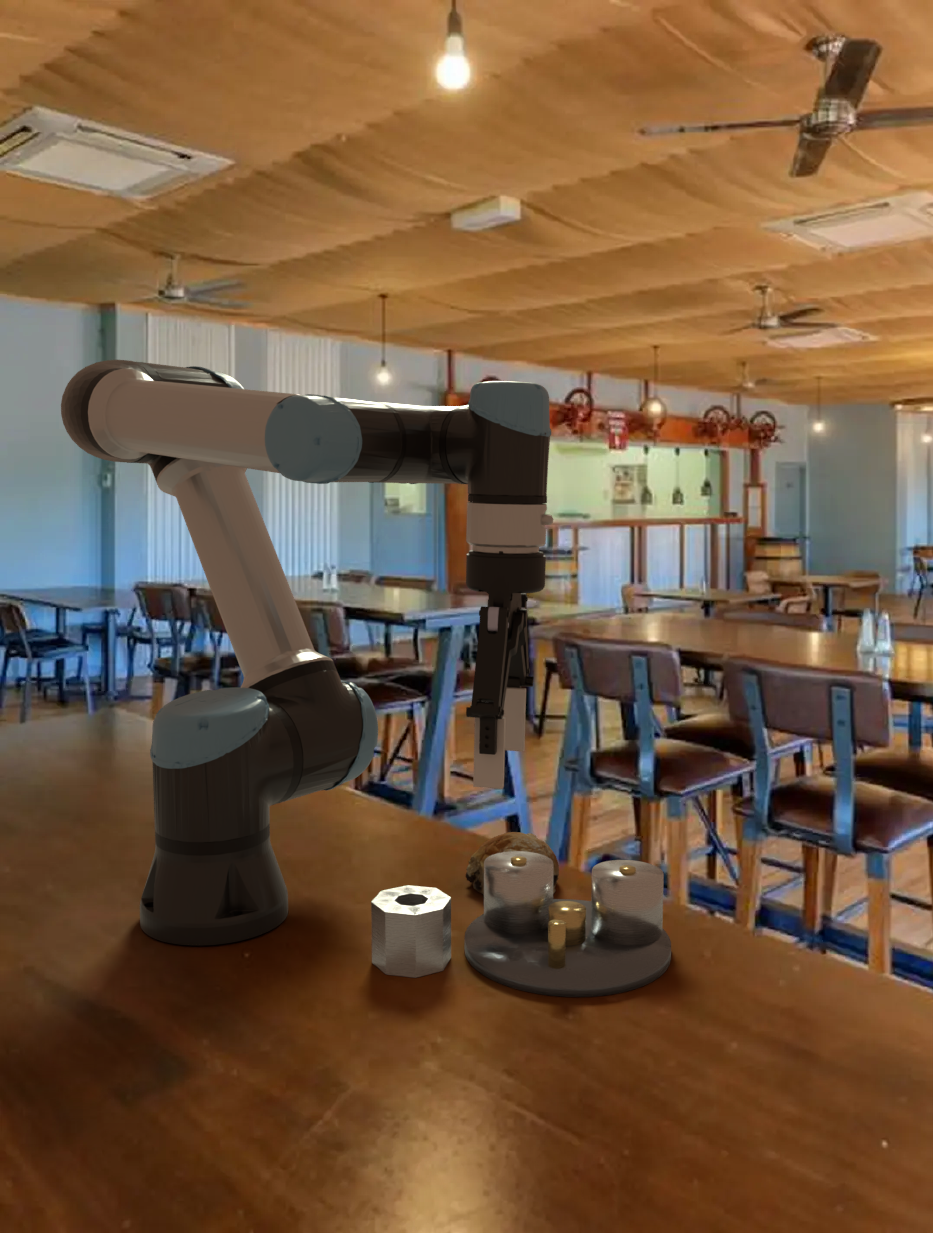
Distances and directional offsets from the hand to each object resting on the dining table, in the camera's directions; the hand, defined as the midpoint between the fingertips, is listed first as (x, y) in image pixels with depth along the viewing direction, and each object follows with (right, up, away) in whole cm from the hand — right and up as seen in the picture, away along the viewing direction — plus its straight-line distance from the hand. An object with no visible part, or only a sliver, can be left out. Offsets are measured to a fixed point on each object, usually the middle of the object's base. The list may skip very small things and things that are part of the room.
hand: (500, 767), depth 105 cm
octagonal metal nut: (-9, -18, -2) cm, 20 cm away
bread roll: (+2, -16, +18) cm, 24 cm away
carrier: (+6, -18, 0) cm, 19 cm away
